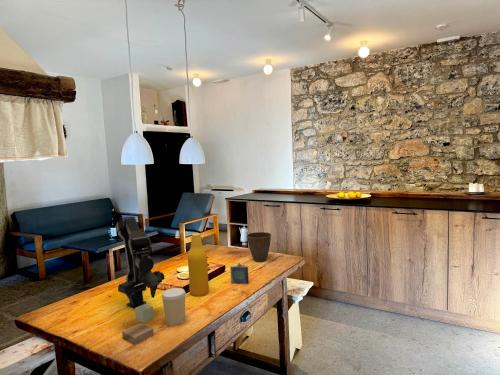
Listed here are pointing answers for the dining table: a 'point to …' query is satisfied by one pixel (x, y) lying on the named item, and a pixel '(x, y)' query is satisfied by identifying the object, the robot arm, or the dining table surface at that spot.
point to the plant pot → (259, 245)
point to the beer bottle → (197, 267)
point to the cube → (144, 313)
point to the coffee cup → (174, 306)
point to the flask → (239, 274)
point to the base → (137, 333)
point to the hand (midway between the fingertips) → (143, 301)
